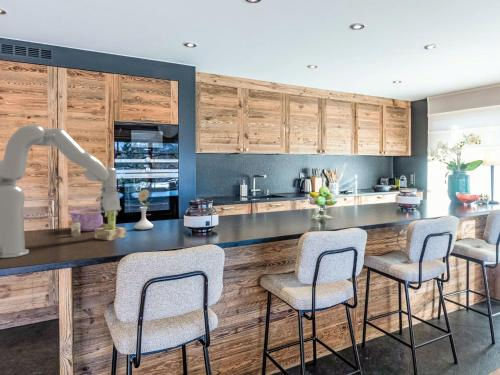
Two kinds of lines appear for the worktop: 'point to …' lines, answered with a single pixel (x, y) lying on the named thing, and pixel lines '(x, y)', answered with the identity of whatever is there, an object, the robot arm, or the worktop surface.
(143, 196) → the flower in vase
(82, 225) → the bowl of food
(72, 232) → the short dowel
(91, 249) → the worktop surface
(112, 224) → the tube
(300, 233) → the worktop surface
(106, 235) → the collar block
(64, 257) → the worktop surface
